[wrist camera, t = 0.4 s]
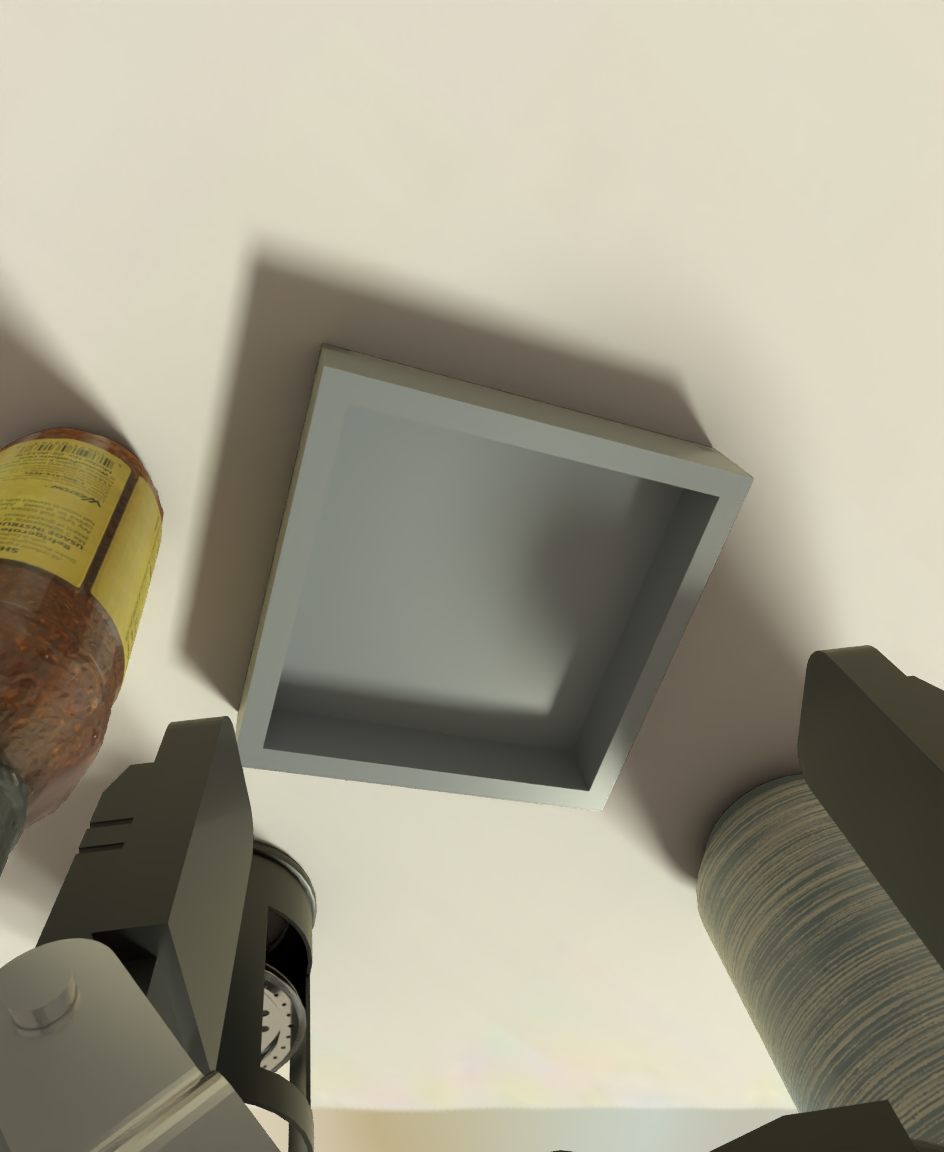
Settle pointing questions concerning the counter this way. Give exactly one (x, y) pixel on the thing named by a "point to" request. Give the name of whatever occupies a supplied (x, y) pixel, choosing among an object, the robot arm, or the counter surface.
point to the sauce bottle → (66, 608)
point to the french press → (272, 996)
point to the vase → (824, 959)
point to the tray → (475, 587)
